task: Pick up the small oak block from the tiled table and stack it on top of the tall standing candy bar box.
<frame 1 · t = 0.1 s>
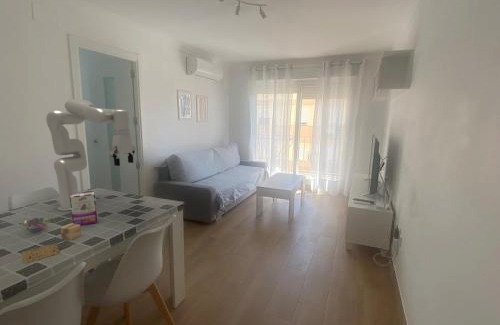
hand: (124, 164, 141), 31 cm above the table, fingers open, 9 cm apart
cookie: (40, 254, 108), on the table
oak block: (71, 237, 122), on the table
candy bar box: (86, 223, 138), on the table
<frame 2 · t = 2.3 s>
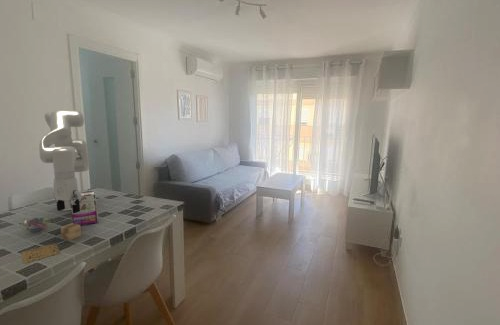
hand: (68, 211, 119), 13 cm above the table, fingers open, 9 cm apart
nothing on the table moved.
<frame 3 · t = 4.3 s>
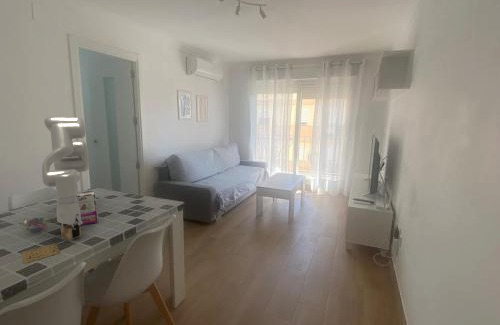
hand: (71, 235, 122), 1 cm above the table, fingers closed on oak block, 5 cm apart
oak block: (71, 236, 122), on the table, touching gripper
everything else where it was.
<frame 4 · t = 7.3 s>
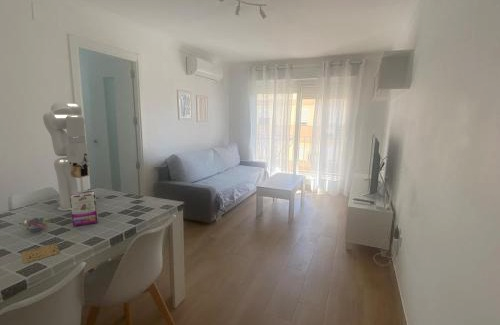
hand: (80, 174, 132), 27 cm above the table, fingers closed on oak block, 5 cm apart
oak block: (80, 176, 132), point 26 cm above the table, touching gripper
everything else where it was.
when the fingers open (18 cm above the table, at t = 10.1 s): oak block stays where it is, resting on candy bar box.
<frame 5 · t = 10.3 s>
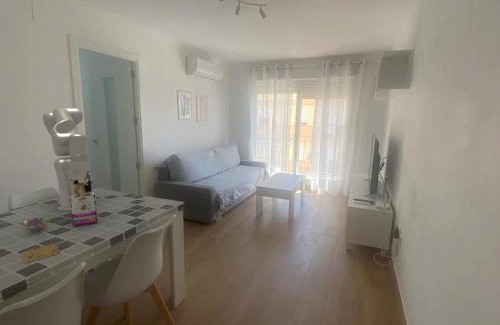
hand: (82, 190, 134), 18 cm above the table, fingers open, 7 cm apart
oak block: (83, 193, 135), point 16 cm above the table, touching candy bar box
candy bar box: (86, 223, 138), on the table, touching oak block
everything else where it was.
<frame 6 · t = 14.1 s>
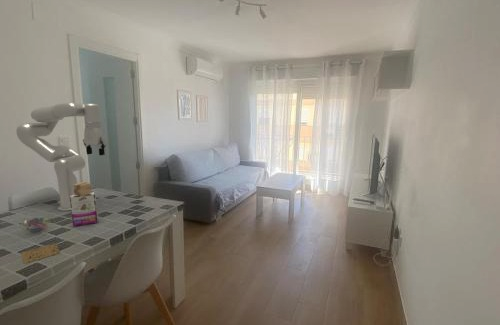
hand: (95, 154, 151), 34 cm above the table, fingers open, 9 cm apart
nothing on the table moved.
at the end: oak block inside the target area on the candy bar box (0.0 cm from its centre), point 16.6 cm above the candy bar box's base; candy bar box tilted 0°; the gripper is holding nothing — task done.
